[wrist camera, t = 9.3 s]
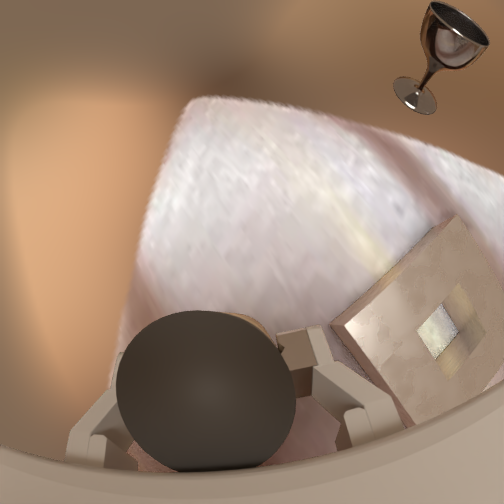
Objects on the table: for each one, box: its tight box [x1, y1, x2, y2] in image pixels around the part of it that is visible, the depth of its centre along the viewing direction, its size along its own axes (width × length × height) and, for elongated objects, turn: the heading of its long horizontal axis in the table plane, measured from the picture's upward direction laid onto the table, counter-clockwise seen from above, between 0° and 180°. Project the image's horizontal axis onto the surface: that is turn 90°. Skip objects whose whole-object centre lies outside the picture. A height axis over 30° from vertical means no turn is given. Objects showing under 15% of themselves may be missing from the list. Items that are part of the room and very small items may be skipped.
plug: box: [116, 310, 296, 472], centre depth 11 cm, size 4×4×10 cm
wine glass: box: [393, 1, 490, 115], centre depth 26 cm, size 8×8×15 cm
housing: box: [329, 214, 504, 428], centre depth 24 cm, size 16×16×5 cm
